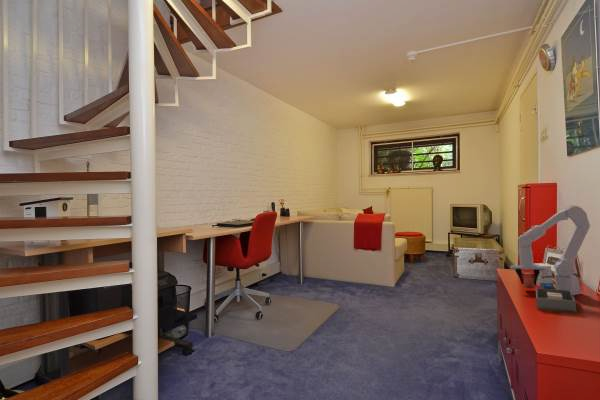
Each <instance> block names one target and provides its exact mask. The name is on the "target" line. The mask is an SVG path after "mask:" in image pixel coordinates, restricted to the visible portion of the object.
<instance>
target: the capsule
mask: <svg viewBox="0 0 600 400" xmlns="http://www.w3.org/2000/svg"><path fill="white" fill-rule="evenodd" d="M522 279H523V284H522V285H523V286H522V287H523V288H525V289H536V285H535V283H534V279H535V278H534V272H533V273H532V272H522Z"/></svg>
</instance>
